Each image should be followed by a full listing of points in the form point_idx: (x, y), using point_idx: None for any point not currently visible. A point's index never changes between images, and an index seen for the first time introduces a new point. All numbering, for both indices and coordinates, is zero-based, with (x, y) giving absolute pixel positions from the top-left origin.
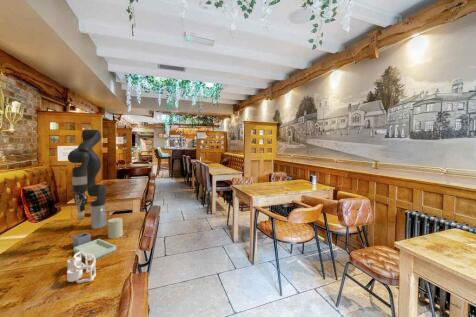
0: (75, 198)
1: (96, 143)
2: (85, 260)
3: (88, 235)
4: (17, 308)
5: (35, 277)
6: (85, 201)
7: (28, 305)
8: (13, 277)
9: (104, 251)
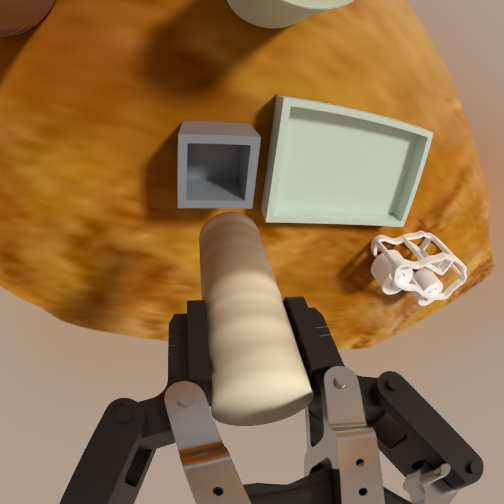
0: (133, 495)
1: None
2: (414, 253)
3: (258, 150)
4: (378, 339)
5: None
6: (404, 416)
7: (389, 330)
8: None
9: (418, 179)
